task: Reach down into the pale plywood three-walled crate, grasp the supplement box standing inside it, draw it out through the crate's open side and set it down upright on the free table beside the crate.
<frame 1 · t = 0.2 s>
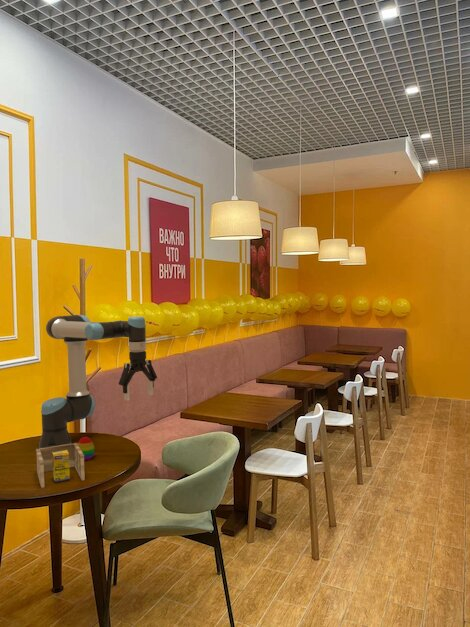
hand: (139, 397, 218), 28 cm above the table, fingers open, 13 cm apart
decorative egg: (85, 458, 221), on the table
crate: (60, 475, 200), on the table
supplement box: (61, 479, 196), on the table
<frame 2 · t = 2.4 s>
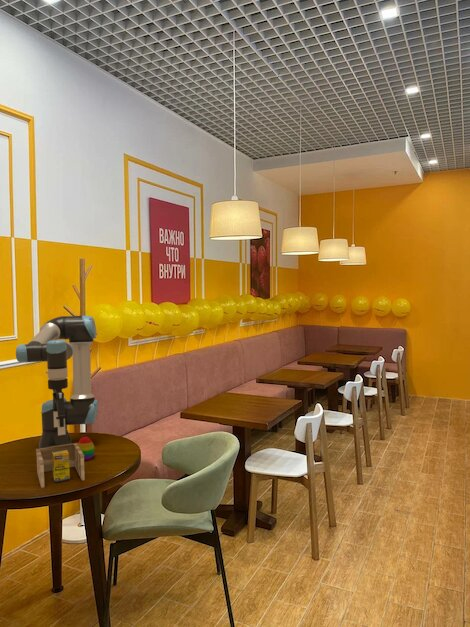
hand: (59, 430, 195), 20 cm above the table, fingers open, 13 cm apart
nothing on the table moved.
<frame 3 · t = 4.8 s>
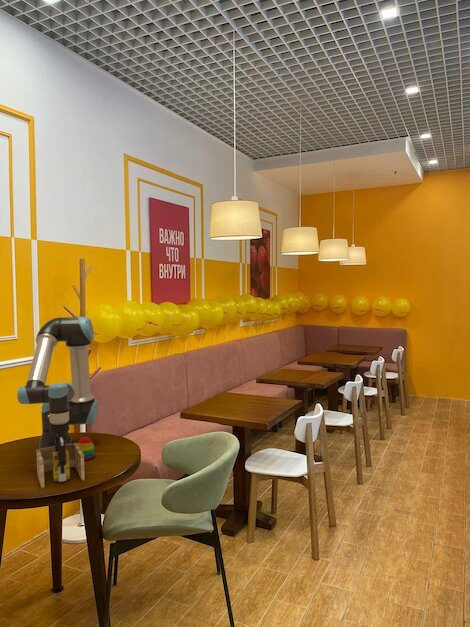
hand: (61, 478, 196), 0 cm above the table, fingers closed on supplement box, 6 cm apart
supplement box: (61, 479, 196), on the table, touching gripper
everything else where it was.
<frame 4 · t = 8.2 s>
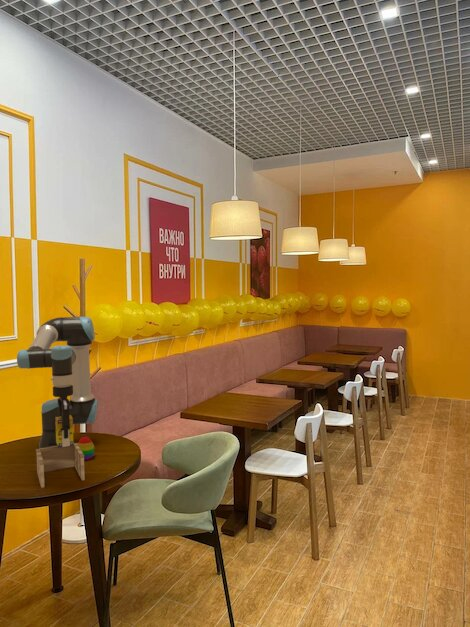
hand: (65, 443, 189), 17 cm above the table, fingers closed on supplement box, 6 cm apart
supplement box: (65, 445, 189), point 16 cm above the table, touching gripper
everything else where it was.
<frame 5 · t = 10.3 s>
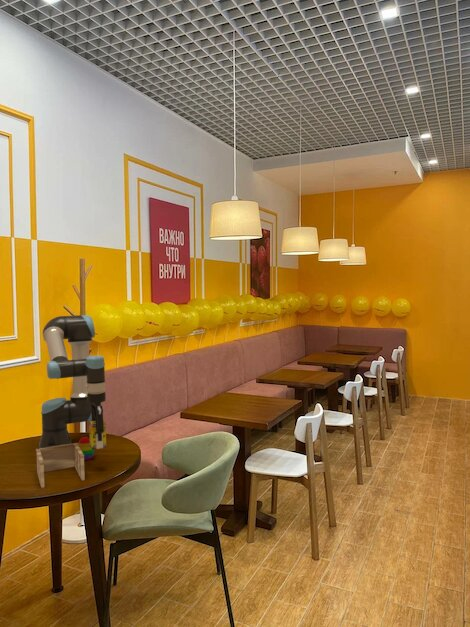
hand: (98, 445, 206), 10 cm above the table, fingers closed on supplement box, 6 cm apart
supplement box: (98, 447, 206), point 10 cm above the table, touching gripper
everything else where it was.
when the fingers open (2 cm above the table, at t = 11.8 s): supplement box drops 1 cm, on the table.
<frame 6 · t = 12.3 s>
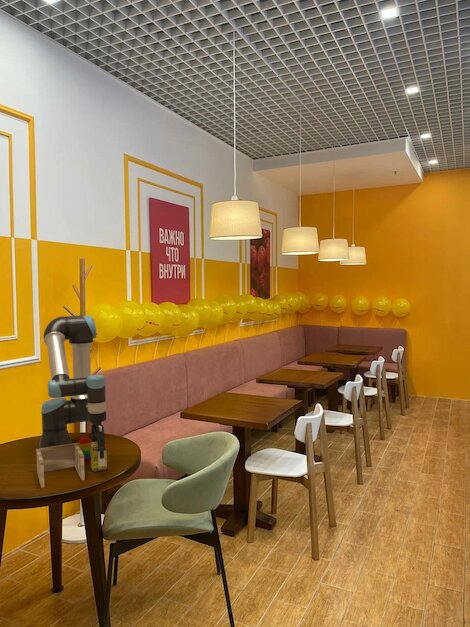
hand: (98, 461, 206), 4 cm above the table, fingers open, 13 cm apart
supplement box: (99, 469, 207), on the table
everything else where it was.
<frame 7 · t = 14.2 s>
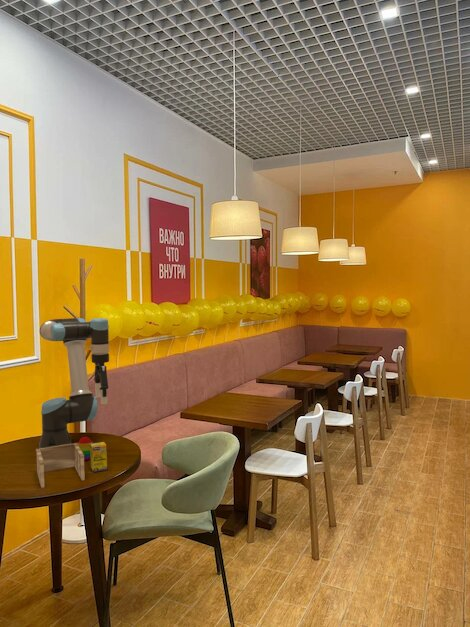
hand: (101, 400, 215), 28 cm above the table, fingers open, 13 cm apart
nothing on the table moved.
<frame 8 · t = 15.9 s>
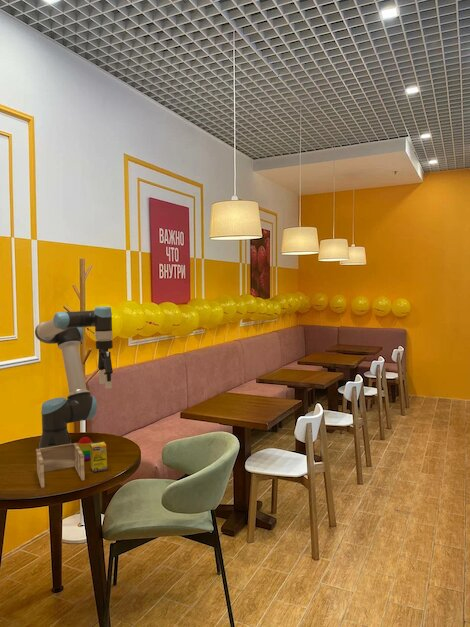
hand: (105, 386, 222), 33 cm above the table, fingers open, 13 cm apart
nothing on the table moved.
at the end: supplement box inside the target area (0.1 cm from its centre), on the table; supplement box tilted 0°; the gripper is holding nothing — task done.
